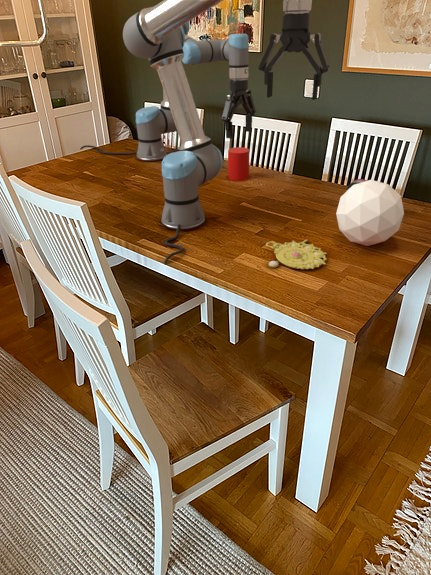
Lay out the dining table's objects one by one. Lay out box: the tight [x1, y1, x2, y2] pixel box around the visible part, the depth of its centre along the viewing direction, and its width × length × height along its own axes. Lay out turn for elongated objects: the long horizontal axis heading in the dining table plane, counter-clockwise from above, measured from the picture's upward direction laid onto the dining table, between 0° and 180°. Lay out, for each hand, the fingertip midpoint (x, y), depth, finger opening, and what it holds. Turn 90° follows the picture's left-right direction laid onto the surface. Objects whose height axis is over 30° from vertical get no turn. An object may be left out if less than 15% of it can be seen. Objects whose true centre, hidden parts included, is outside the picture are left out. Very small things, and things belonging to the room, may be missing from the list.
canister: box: [227, 146, 250, 182], centre depth 192 cm, size 9×9×12 cm
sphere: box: [335, 179, 405, 247], centre depth 135 cm, size 19×20×20 cm
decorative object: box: [265, 238, 328, 270], centre depth 132 cm, size 21×2×20 cm
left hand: (239, 134), depth 185 cm, fingers open, 13 cm apart
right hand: (291, 98), depth 130 cm, fingers open, 13 cm apart
